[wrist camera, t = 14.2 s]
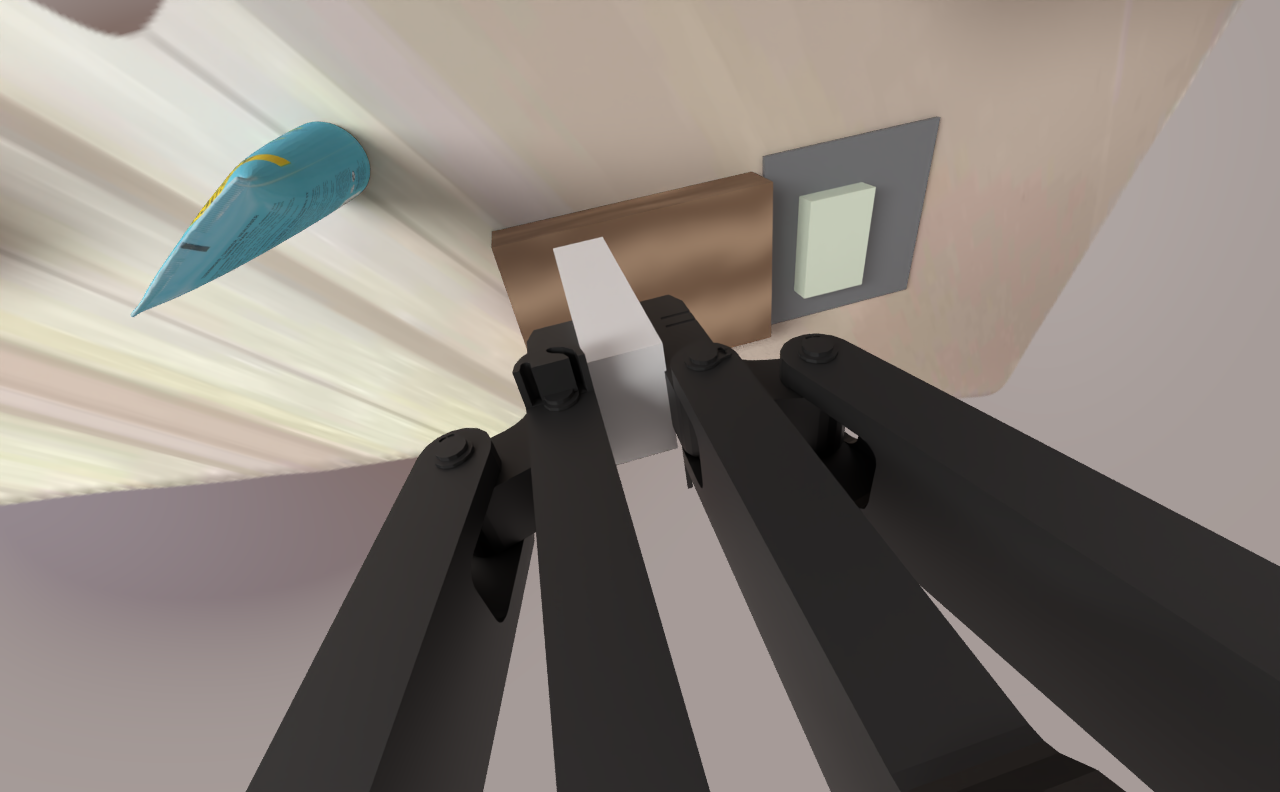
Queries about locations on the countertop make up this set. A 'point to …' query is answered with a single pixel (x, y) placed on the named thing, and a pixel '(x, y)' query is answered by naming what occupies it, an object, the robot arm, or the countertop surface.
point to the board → (659, 256)
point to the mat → (900, 182)
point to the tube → (264, 206)
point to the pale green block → (832, 239)
